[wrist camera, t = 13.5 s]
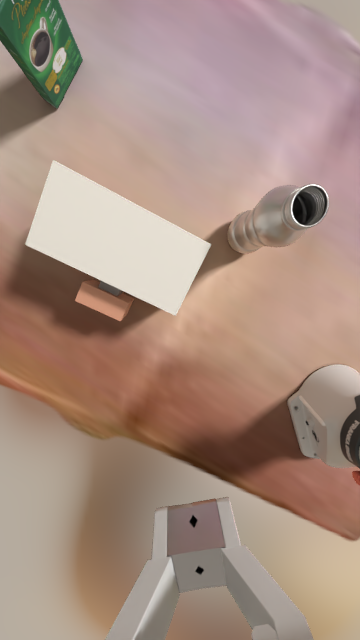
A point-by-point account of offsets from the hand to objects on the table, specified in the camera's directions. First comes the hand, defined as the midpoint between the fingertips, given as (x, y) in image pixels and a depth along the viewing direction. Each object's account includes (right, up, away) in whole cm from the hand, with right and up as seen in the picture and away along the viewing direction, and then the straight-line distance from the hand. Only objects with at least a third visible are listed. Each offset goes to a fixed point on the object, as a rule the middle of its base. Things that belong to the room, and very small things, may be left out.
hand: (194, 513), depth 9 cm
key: (-10, +15, +28) cm, 33 cm away
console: (-8, +20, +31) cm, 38 cm away
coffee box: (-18, +44, +25) cm, 54 cm away
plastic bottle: (+11, +23, +31) cm, 40 cm away
